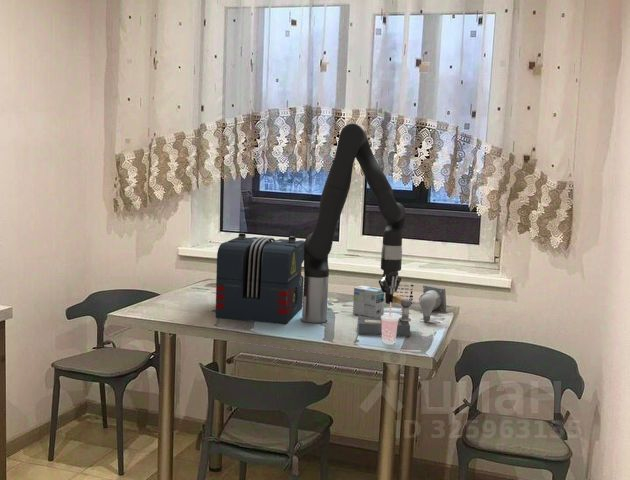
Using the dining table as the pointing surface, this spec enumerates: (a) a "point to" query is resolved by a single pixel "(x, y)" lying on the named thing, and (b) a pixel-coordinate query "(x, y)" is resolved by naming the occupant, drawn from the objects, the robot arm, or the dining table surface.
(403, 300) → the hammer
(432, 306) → the lightbulb
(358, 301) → the light bulb box
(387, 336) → the beverage cup
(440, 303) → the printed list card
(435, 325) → the dining table surface
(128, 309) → the dining table surface
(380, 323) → the grey rectangular block
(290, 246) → the power unit
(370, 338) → the dining table surface
